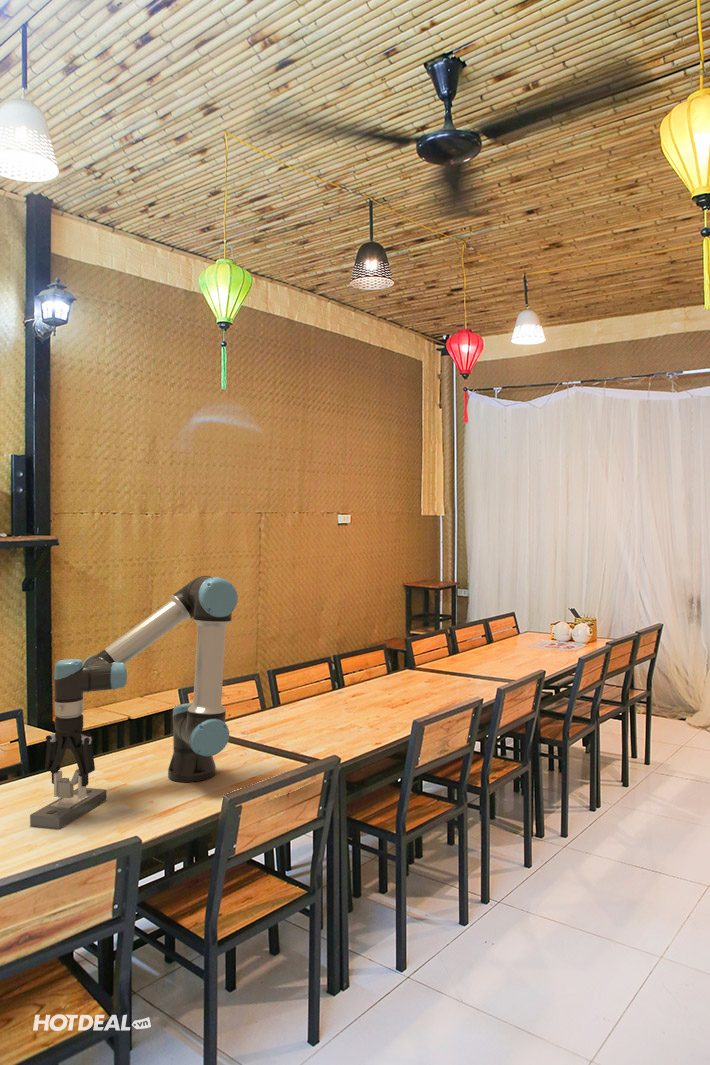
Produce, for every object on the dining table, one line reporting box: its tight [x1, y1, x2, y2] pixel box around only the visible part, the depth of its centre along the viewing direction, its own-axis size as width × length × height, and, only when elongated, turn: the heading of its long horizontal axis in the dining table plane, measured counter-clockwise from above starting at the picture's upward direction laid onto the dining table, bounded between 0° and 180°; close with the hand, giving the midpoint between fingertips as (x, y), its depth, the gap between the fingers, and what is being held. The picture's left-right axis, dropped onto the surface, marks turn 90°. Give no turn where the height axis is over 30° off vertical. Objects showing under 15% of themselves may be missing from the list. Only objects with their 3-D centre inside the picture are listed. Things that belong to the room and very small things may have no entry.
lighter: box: [57, 768, 80, 799], centre depth 209 cm, size 7×2×8 cm, turn 77°
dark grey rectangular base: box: [29, 787, 108, 830], centre depth 209 cm, size 9×22×3 cm, turn 166°
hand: (70, 796), depth 209 cm, fingers closed on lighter, 7 cm apart
